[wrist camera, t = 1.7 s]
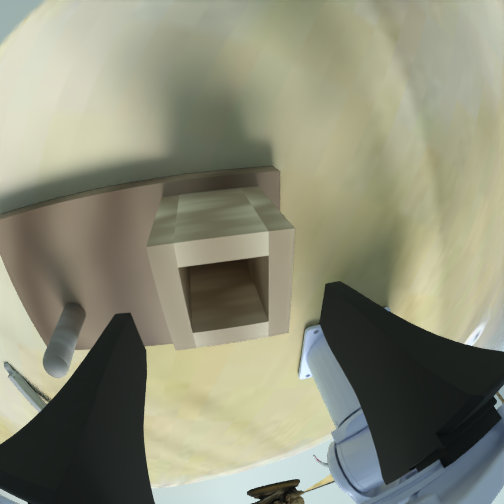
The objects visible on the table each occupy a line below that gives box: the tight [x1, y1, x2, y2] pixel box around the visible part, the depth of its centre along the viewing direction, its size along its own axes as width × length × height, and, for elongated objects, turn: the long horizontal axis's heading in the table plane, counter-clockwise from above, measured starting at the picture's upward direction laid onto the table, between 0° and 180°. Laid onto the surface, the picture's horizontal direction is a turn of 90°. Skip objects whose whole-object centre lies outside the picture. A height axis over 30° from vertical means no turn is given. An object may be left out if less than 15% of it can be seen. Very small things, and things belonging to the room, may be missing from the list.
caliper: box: [4, 363, 47, 412], centre depth 22 cm, size 20×1×6 cm, turn 18°
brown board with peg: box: [0, 166, 280, 378], centre depth 14 cm, size 20×12×7 cm, turn 92°
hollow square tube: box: [146, 186, 295, 350], centre depth 13 cm, size 5×5×6 cm
